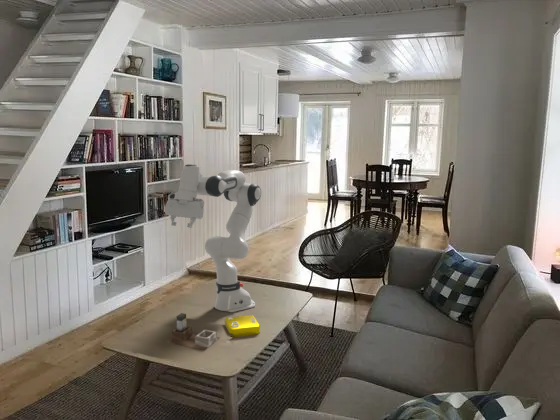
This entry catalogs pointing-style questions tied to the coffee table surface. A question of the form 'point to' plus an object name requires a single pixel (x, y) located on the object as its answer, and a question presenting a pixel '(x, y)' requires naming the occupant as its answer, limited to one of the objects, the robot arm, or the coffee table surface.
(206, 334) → the caddy
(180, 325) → the brushed metal bar
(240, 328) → the element tile
